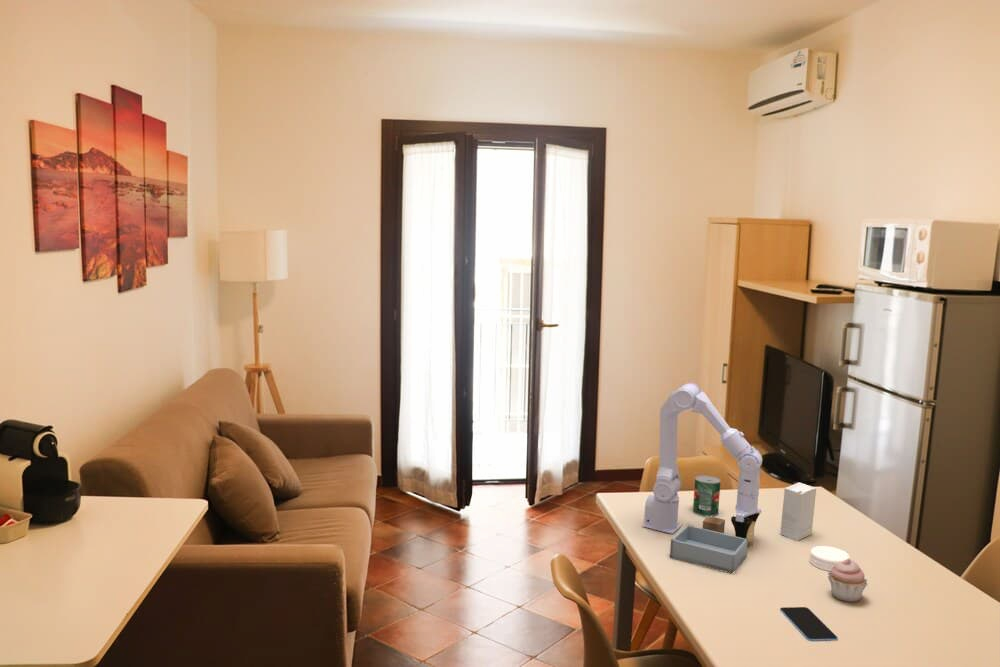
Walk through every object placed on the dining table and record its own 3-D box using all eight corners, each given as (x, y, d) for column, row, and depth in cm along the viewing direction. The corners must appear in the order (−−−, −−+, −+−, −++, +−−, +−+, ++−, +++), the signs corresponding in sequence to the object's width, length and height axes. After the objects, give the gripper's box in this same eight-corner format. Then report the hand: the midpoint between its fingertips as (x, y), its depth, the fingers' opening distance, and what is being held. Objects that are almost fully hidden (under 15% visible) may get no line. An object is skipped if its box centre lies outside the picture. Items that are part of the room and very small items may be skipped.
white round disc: (854, 565, 217) (855, 553, 217) (840, 576, 210) (842, 564, 209) (817, 554, 224) (818, 542, 223) (803, 564, 217) (804, 552, 216)
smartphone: (807, 606, 192) (840, 638, 177) (807, 609, 192) (839, 642, 177) (778, 606, 191) (808, 639, 176) (777, 610, 191) (808, 642, 176)
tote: (669, 557, 218) (671, 539, 217) (686, 541, 229) (687, 524, 228) (732, 573, 209) (734, 555, 208) (746, 556, 220) (747, 539, 219)
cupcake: (817, 591, 201) (820, 553, 199) (845, 585, 204) (849, 548, 203) (845, 608, 192) (849, 568, 191) (874, 602, 195) (879, 563, 194)
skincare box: (794, 528, 241) (798, 481, 239) (813, 535, 237) (817, 487, 235) (779, 535, 236) (783, 486, 234) (797, 541, 232) (802, 492, 229)
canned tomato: (689, 507, 256) (691, 474, 255) (712, 507, 257) (715, 474, 256) (697, 517, 248) (700, 483, 247) (722, 516, 249) (724, 482, 248)
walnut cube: (701, 537, 233) (702, 521, 232) (707, 532, 237) (708, 515, 236) (718, 541, 230) (719, 524, 229) (723, 535, 234) (725, 519, 234)
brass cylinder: (732, 544, 228) (734, 521, 227) (737, 538, 232) (739, 515, 231) (750, 548, 225) (752, 525, 224) (754, 543, 230) (756, 519, 229)
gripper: (755, 502, 218) (751, 550, 220) (768, 488, 231) (764, 533, 233) (729, 497, 222) (726, 543, 224) (744, 483, 234) (740, 527, 236)
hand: (744, 538), depth 229 cm, fingers open, 7 cm apart
